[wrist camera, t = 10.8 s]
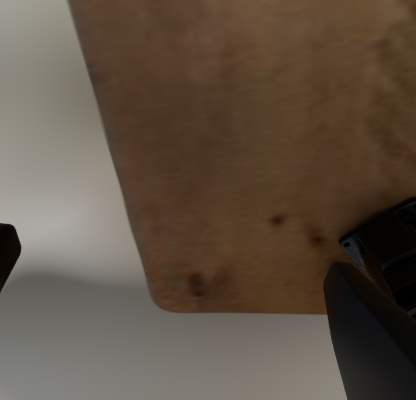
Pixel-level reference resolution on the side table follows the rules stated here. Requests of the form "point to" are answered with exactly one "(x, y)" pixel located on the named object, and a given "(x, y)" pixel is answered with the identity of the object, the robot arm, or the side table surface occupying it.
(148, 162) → the side table surface
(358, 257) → the robot arm
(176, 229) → the side table surface
